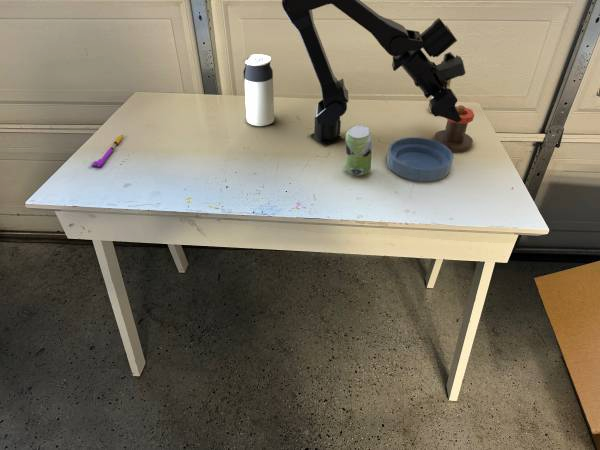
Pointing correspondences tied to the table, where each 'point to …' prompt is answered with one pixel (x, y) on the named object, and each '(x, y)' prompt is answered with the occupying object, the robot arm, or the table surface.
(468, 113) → the ring
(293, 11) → the robot arm
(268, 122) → the travel mug
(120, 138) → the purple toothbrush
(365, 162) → the beverage can
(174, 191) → the table surface
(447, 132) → the ring stand
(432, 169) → the dish
